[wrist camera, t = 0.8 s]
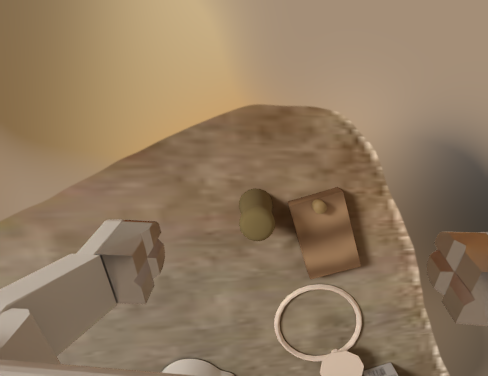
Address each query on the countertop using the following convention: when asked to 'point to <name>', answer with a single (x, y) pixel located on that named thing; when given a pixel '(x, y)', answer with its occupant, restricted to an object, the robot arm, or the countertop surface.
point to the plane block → (324, 233)
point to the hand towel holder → (338, 361)
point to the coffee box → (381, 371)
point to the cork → (256, 215)
